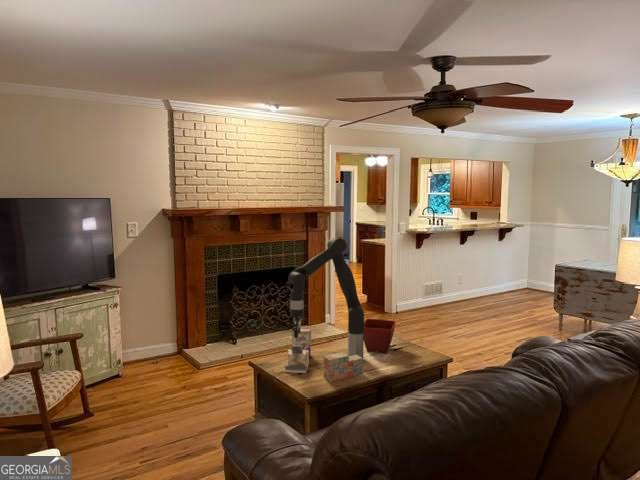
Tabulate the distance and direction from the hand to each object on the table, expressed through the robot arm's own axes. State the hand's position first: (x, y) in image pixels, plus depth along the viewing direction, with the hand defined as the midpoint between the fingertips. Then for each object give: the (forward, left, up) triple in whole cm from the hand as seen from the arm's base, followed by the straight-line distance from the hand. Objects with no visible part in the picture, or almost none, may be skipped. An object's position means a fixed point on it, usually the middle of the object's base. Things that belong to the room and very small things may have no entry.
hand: (297, 335), depth 263 cm
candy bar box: (0, -19, -20) cm, 27 cm away
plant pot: (-47, -36, -20) cm, 62 cm away
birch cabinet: (0, 0, -18) cm, 18 cm away
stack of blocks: (-27, +8, -20) cm, 34 cm away
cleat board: (0, 0, -19) cm, 19 cm away
